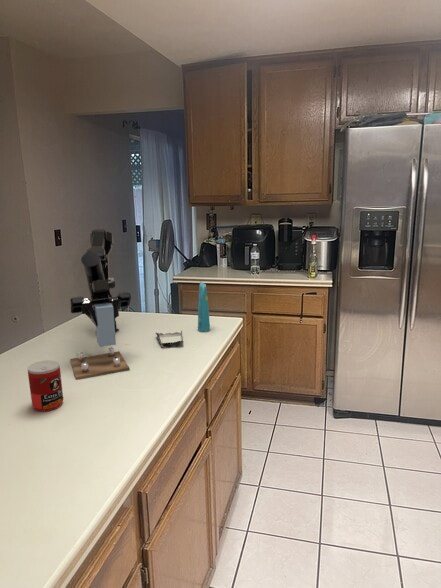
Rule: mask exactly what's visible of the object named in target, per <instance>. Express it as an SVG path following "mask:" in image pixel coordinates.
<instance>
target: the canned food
mask: <svg viewBox="0 0 441 588" xmlns="http://www.w3.org/2000/svg"><path fill="white" fill-rule="evenodd" d="M61 373H62V372H61V366H60V362H58V361H57V360H52V359H51V360H50V359H47V360H46V359H44V360H39V361H36V362H34V363H31V364H30V365H28V366H27V378H28V383H29V390H30V399H31V406H32V408H33V410H35V411H37V412H49V411H50V412H51V411H53V410H56V409H59V408H60V407H61V406H62V405H63V403H64V395H63V394H64V393H63V384H62V374H61Z"/></svg>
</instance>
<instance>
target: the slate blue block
mask: <svg viewBox="0 0 441 588" xmlns="http://www.w3.org/2000/svg"><path fill="white" fill-rule="evenodd" d="M93 310H94V311H95V316H96V319H97V324H98V326H97V327H96V326H95V333H96V343H97V345H98V346H99V348H104V347H110V346H116V345H117V339H116V332H115V324H114V310H113V306H112V305H111V303H105V304H96V305H94V309H93Z"/></svg>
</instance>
